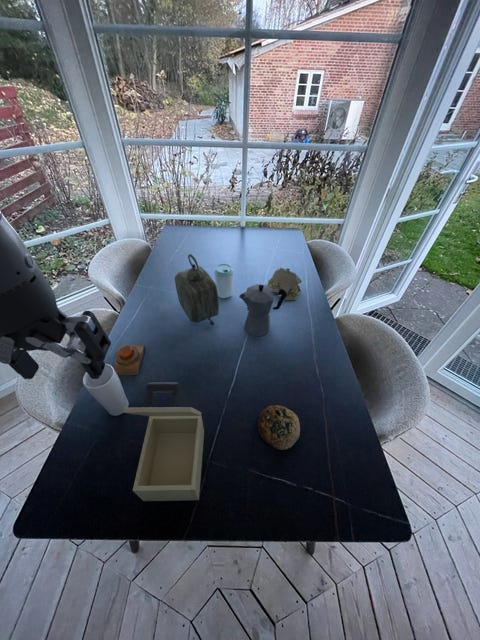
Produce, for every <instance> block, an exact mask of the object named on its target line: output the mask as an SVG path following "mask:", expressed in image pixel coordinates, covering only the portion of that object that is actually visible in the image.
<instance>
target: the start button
mask: <svg viewBox="0 0 480 640" xmlns="http://www.w3.org/2000/svg"><path fill="white" fill-rule="evenodd" d="M119 354H120V356H121V358H122V359H124V360H127V359H130V358H131V357H132V356H133V354H134V353H133V350H132V348H131V347H123V348H122V349H121V350H120V351H119Z"/></svg>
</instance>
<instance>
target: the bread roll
mask: <svg viewBox="0 0 480 640" xmlns="http://www.w3.org/2000/svg"><path fill="white" fill-rule="evenodd" d="M299 420H300V419H299V416H298V415H297V414H296V413H295V412H294V411H293V410H291V409H289V408H287V407H286V406H283V405H279V404H275V405H268V406H267V407H266V408H264V409H263V410H262V411H261V412H260V414H259V416H258V418H257V426H256V428H257V432H258V434H259V437H261V439H262V440H263V441H264V442H265V443H267V444H268V445H269V446H271V447H272V448H275V449H276V450H280V451H285V450H286V451H287V450H288V449H291V448H292V447H293V446H294V445H295V444H296V442H297V441H298V440H299V438H300V435H301V423H300V421H299Z"/></svg>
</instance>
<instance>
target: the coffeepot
mask: <svg viewBox="0 0 480 640" xmlns="http://www.w3.org/2000/svg"><path fill="white" fill-rule="evenodd" d="M278 295H281V297H279V299H278V301H277V302H276V303H277V304H276V306H273V303H274V300H275V296H278ZM286 296H287V292H286V291H285V290H284V289H273V290H272V289H271V288H270V287H269V286H268V284H267V285H266V284H265V285H264V284H259V283H256V284H254V285H251V286H248V287H247V288H246V291H244V292H242V293H240V294H239V296H238V297H239V299H241V300H242V301H243V302H244V303H245V305H246V309H247V315H246V319H245V323H244V326H243V329H244V330H245V331H246V333H247V334H249V336H250V335H251V336H254V337H262V336H265V335H266V334H268V333H269V332H270V327H271V321H270V320H271V319H270V311H271V309H272V310H274V311H277V310H279V309H280V308H281V306H282V305H283V303H284V302H285V301H286V300H285V298H286ZM272 306H273V307H272Z"/></svg>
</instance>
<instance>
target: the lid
mask: <svg viewBox="0 0 480 640" xmlns="http://www.w3.org/2000/svg"><path fill="white" fill-rule="evenodd" d="M179 390H180V383H179V381H175V382H174V381H173V382H171V381H167V382H166V381H165V382H164V381H161V382H157V381H155V382H154V381H153V382H152V381H151V382H147V384H146V392H147V398H146V406H145V407H128V408H124V410H123V413H122V414H129V415H137V416H144V417H150V416H202V412H201V411H199V409H195V408H194V407H191V406H188V407H187V406H185V407H184V406H183V407H182V406H178V407H177V400H178V393H179V392H180V391H179ZM153 393H172V397H171V407H160V406H159V407H156V406H155V407H154V406H153V407H152V402H153Z"/></svg>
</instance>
